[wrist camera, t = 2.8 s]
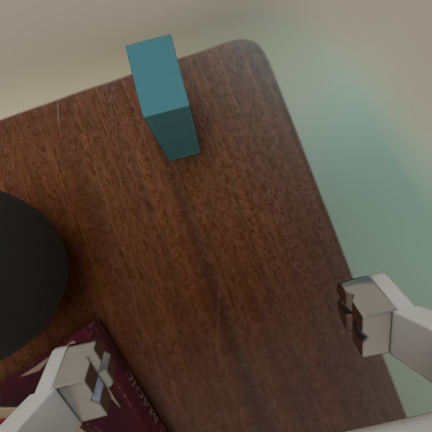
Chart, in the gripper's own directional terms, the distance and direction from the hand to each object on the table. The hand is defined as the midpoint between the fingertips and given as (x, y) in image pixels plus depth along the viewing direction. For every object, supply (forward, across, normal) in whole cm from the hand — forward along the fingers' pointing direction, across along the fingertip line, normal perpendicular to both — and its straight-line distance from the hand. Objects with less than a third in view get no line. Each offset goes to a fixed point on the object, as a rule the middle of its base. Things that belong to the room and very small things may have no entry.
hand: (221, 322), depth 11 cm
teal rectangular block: (+23, +1, -1) cm, 23 cm away
